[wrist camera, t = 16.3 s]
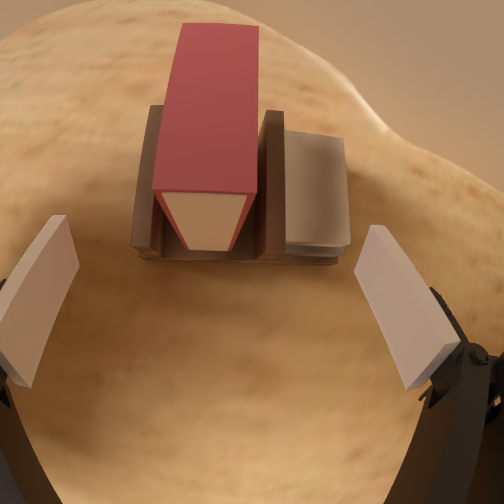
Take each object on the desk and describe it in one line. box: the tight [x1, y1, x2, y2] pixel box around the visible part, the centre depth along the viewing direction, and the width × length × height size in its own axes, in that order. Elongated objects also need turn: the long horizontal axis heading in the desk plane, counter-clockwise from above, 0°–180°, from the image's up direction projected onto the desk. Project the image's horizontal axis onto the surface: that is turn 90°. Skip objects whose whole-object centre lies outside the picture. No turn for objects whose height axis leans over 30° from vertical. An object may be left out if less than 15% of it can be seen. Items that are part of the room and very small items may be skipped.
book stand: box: [131, 105, 351, 265], centre depth 23 cm, size 16×10×7 cm, turn 89°
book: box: [152, 23, 259, 251], centre depth 17 cm, size 4×9×14 cm, turn 179°
